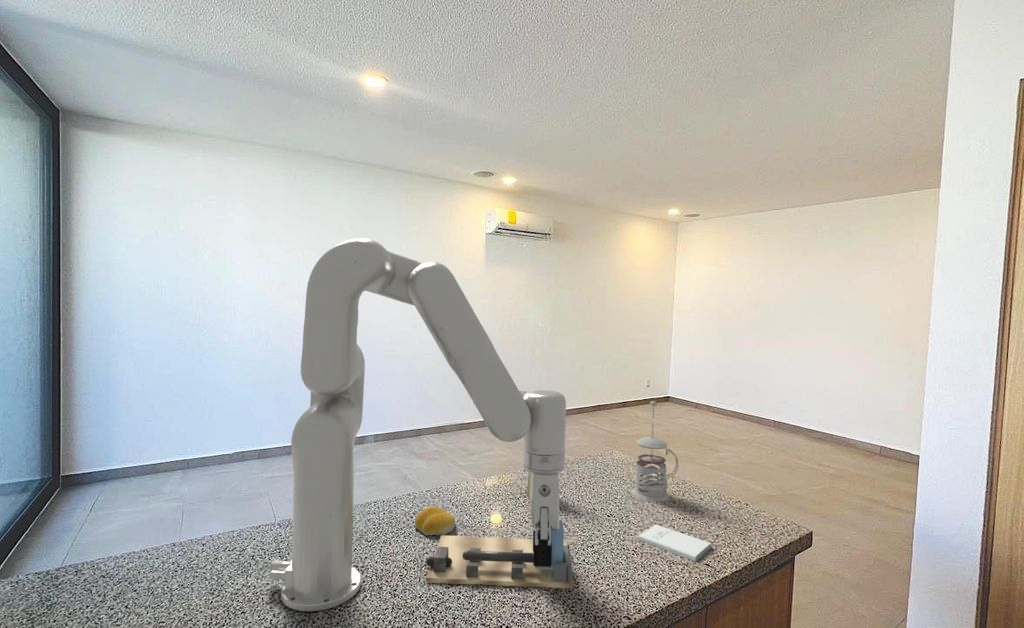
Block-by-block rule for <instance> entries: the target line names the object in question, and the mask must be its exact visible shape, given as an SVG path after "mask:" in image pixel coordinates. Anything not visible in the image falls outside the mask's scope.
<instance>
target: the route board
mask: <svg viewBox="0 0 1024 628" xmlns="http://www.w3.org/2000/svg"><path fill="white" fill-rule="evenodd" d="M563 546H567V547H568V544H567V539H566V540H565V539H564V545H563ZM465 551H490V552H519V553H534V552H533V538H515V537H514V538H513V537H495V536H494V537H492V536H491V537H489V536H468V535H465V536H463V535H462V536H461V535H440V539H439V542H438V544H437V546H436V549H435V552H434V555H433V556H429V557H427V558H426V561H425V565H426V566H428V567H429V569H428V571H427V574H426V578H425V582H426V583H428V584H429V583H430V584H431V583H435V584H454V585H476V584H482V585H481V586H483V585H484V586H502V587H505V586H506V587H527V588H548V589H549V588H551V589H552V588H553V589H575V581H574V576H573V571H572V569H571V578H570V582H554V569H546V568H535V566H534V565H533V563H526V562H498V561H469V560H464V559H463V556H462V555H463V553H464V552H465Z"/></svg>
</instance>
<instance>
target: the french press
mask: <svg viewBox="0 0 1024 628" xmlns="http://www.w3.org/2000/svg"><path fill="white" fill-rule="evenodd" d="M649 406H651V407H652V418H655V417H654V416H655V415H654V412H655V411H654V408H655V407H657V406H658V404H657V401H653V400H651V401H650V403H649ZM651 430H652V431H651V434H652V435H651V436H646V437H641V438H639V439H637V440H636V444H637V445H638V446H639V447H641V448H643V449H649V450H664V449H665V455H666V456H668V455H669V452H670V453H671V454H672V455H673V456H674V458H675V466H674V468H673V471H672V472H670V473H669V474H667V465H666V463H665V462H666V459H665V457H663V456H659V455H657V454H653V452H650V453H651V454H649V453H647V454H646V453H645V454H639V455H637V459H638V461H636V467H635V468H636V471H635V472H636V474H635V488H633V489H632V491H631V494H632V495H633V496H634V497H635V498H637V499H640V500H643V501H645V502H646V501H648V502H652V503H653V502H654V503H655V502H656V503H657V502H660V503H661V502H665V501H668V500H669V499H670V495H669V494H668V492H667V489H668V488H667V487H668V486H667V485H668V479H669V478H673V476H675V475H676V473H677V471H678V469H679V460H678V457H677V455H676V454H675V452H673V451H672V450H671V449H670V448H668V446H669V444H668V443H667V442H666V441H665V440H663V439H661V438H659V437H655V436H654V423H652V429H651ZM648 465H649V466H648ZM654 465H656V466H658V467H656V466H654ZM659 467H660V468H659ZM653 474H654V475H653ZM644 476H645V477H644ZM654 479H655V480H654Z"/></svg>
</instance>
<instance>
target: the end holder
mask: <svg viewBox="0 0 1024 628" xmlns="http://www.w3.org/2000/svg"><path fill="white" fill-rule="evenodd" d="M571 570H572V563H571V558H570V553H569V548H568V545H567V546H563V563H555V566H554V582H570V578H571Z"/></svg>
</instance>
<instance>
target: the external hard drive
mask: <svg viewBox="0 0 1024 628" xmlns="http://www.w3.org/2000/svg"><path fill="white" fill-rule="evenodd" d="M638 541H641V542H643V543H646V544H649V545H651V546H653V547H656V548H659V549H661V550H664V551H667V552H670V553H672V554H675V555H677V556H679V557H682V558H685V559H687V560H690V561H692V562H697V561H698V560H699V559H701V558H702V556H703V555H705V554H706V553H707V552H708V551H709V550H711V549H712V543H711V542H709V541H705V540H702V539H699V538H696V537H694V536H690V535H688V534H685V533H682V532H679V531H676V530H673V529H671V528H667V527H664V526H662V525H659V524H653V526H650V527H649V528H648V529H646V530H645V531H643V532H642V533H640V534H639V535H638Z"/></svg>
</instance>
